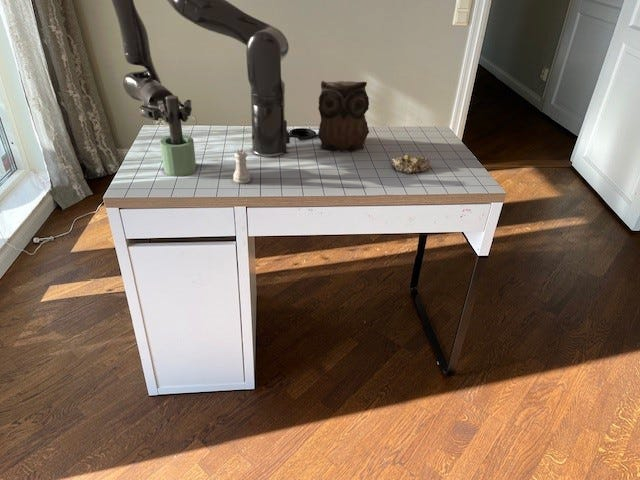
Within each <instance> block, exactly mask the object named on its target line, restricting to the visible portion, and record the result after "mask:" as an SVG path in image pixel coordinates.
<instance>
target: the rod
mask: <svg viewBox="0 0 640 480" xmlns="http://www.w3.org/2000/svg"><path fill="white" fill-rule="evenodd" d="M179 101H180V99H179V96H178V95H175V94H173V95H170V96H166V106H167V112H168V113H169V114H170V115H171V117H172V124H168V128H169V136H171V144H172V145H181V144H184V143H183V135H184V134H183V127H182V120H181V117H180V108H179Z"/></svg>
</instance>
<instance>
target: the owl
mask: <svg viewBox="0 0 640 480" xmlns="http://www.w3.org/2000/svg"><path fill="white" fill-rule="evenodd" d="M367 84H368V82H367V81H349V80H348V81H344V80H339V81H324V80H322V81H320V89H321V92H320V94H319V96H318V112H319V115H320V123H319V125H318V126H319V127H318V132H317V134H318V137H317V138H318V139H319V141H320V143H321V146H320V149H322V150H325V151H329V152H341V153H343V152H350V153H351V152H356V151H358V150H361V149H364V145H365V143H366V140H367V137H368V135H369V134H370V130H369V126H368V122H367V119H366V114H367V111H368V110H369V106H370V100H369V98H370V97H369V96H368V93H367V91H366V87H367Z"/></svg>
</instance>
